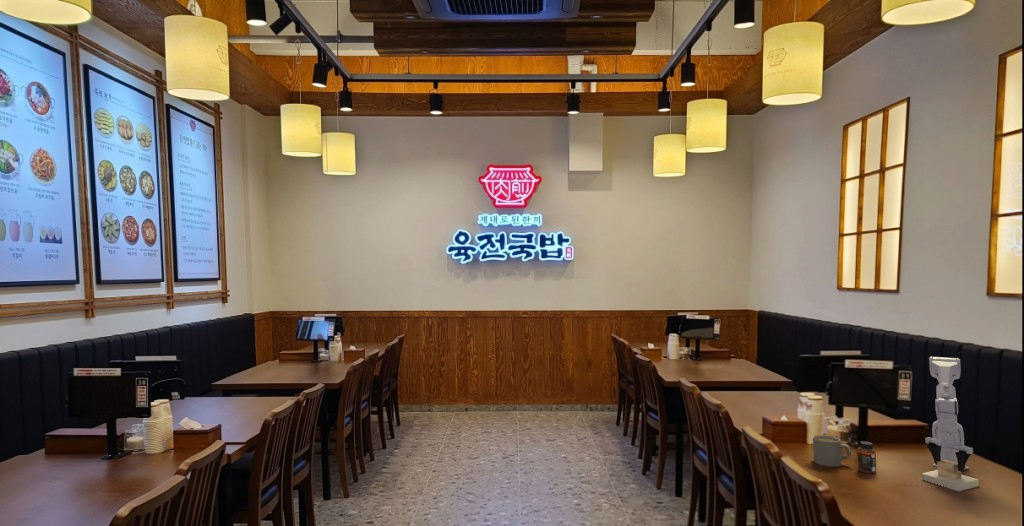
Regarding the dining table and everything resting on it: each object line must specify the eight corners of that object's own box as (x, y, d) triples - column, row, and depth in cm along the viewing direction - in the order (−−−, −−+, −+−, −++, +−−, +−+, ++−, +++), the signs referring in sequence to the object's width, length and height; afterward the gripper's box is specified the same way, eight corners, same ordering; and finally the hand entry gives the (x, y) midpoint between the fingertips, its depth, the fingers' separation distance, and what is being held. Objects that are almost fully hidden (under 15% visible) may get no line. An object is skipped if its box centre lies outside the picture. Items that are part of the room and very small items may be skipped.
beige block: (941, 476, 204) (941, 468, 204) (978, 487, 192) (978, 479, 193) (922, 481, 199) (921, 473, 199) (958, 492, 188) (958, 484, 188)
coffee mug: (812, 464, 218) (812, 439, 218) (814, 457, 226) (813, 433, 226) (851, 470, 210) (850, 444, 211) (851, 462, 219) (850, 438, 219)
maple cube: (946, 473, 199) (945, 459, 199) (961, 477, 194) (960, 463, 195) (937, 475, 197) (937, 461, 197) (953, 479, 193) (952, 465, 193)
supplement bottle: (879, 474, 205) (878, 445, 205) (862, 473, 206) (861, 444, 207) (872, 469, 211) (871, 440, 211) (855, 468, 212) (854, 440, 212)
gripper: (919, 427, 202) (921, 462, 201) (963, 437, 188) (965, 475, 188) (931, 425, 204) (932, 460, 204) (975, 434, 191) (977, 472, 190)
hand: (949, 467), depth 196 cm, fingers open, 7 cm apart
